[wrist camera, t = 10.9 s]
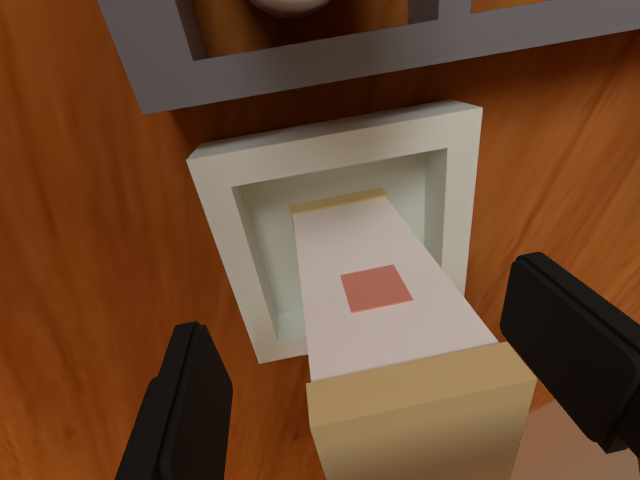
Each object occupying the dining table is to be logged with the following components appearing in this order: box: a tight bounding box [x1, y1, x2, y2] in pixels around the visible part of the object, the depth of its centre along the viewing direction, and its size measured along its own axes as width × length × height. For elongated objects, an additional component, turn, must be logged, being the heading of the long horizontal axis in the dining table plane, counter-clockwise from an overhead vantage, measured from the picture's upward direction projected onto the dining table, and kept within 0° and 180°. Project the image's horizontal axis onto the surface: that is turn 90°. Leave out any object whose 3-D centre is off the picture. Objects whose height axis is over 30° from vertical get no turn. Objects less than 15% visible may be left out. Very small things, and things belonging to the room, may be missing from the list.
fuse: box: [290, 187, 537, 480], centre depth 11 cm, size 4×4×10 cm
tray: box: [186, 99, 483, 364], centre depth 15 cm, size 10×10×2 cm
